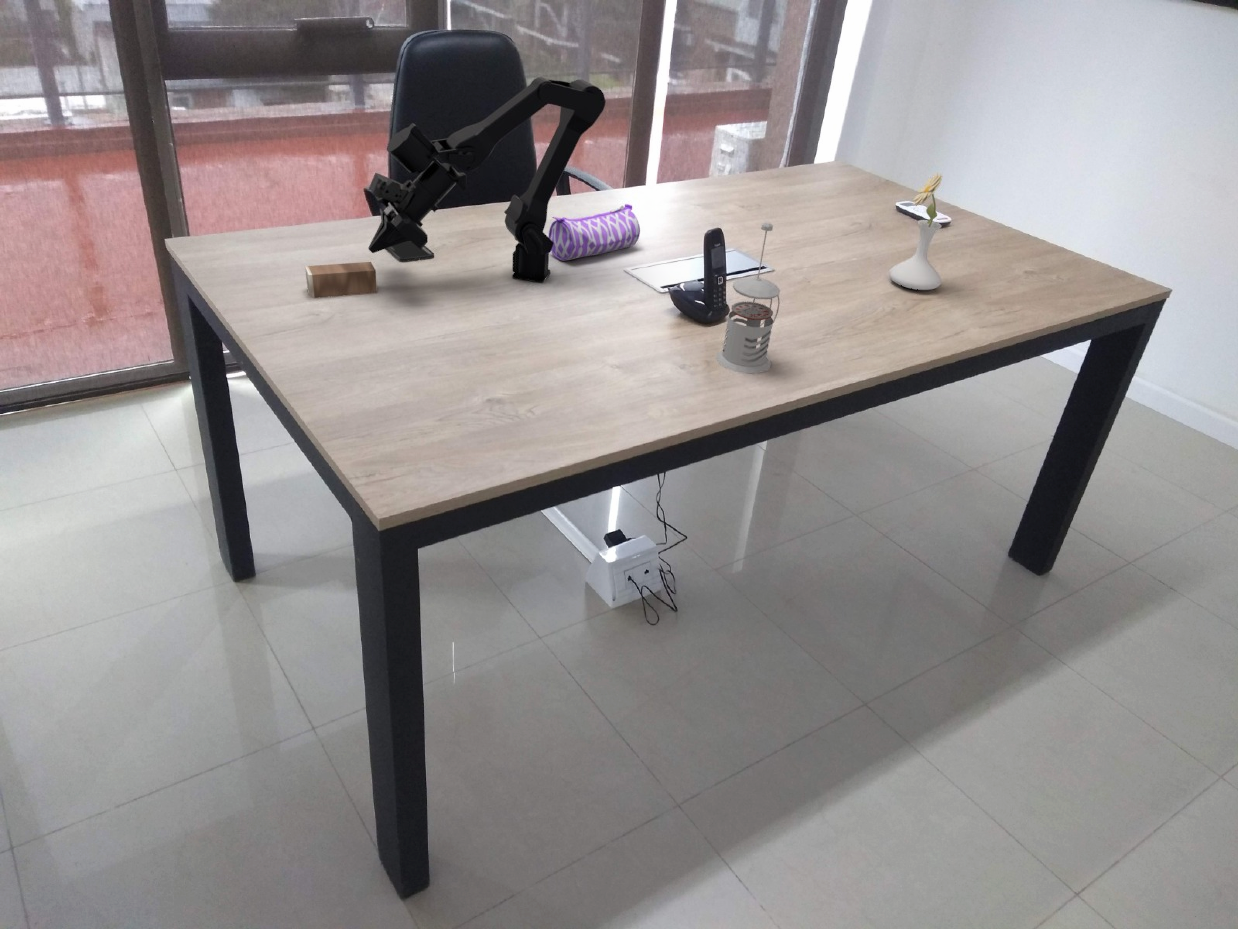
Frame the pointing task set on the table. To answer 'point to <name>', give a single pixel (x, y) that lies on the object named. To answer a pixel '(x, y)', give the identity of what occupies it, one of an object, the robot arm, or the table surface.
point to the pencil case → (594, 233)
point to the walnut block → (341, 279)
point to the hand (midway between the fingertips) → (370, 250)
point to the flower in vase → (921, 247)
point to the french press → (750, 324)
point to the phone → (409, 252)
